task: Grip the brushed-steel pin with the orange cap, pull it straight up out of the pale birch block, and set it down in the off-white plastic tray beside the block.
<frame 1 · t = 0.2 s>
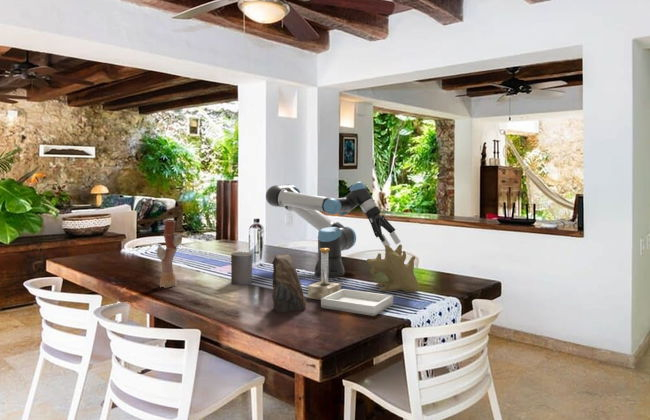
hand: (393, 245, 240), 15 cm above the table, tool tilted 35°, fingers open, 13 cm apart
abstract sculpture: (170, 286, 218), on the table
pin block: (324, 296, 200), on the table
decorative coral: (393, 288, 215), on the table
pillar candle: (241, 283, 225), on the table
brown rock: (288, 308, 182), on the table
steel pin: (324, 272, 199), in the pin block
tray: (357, 305, 186), on the table
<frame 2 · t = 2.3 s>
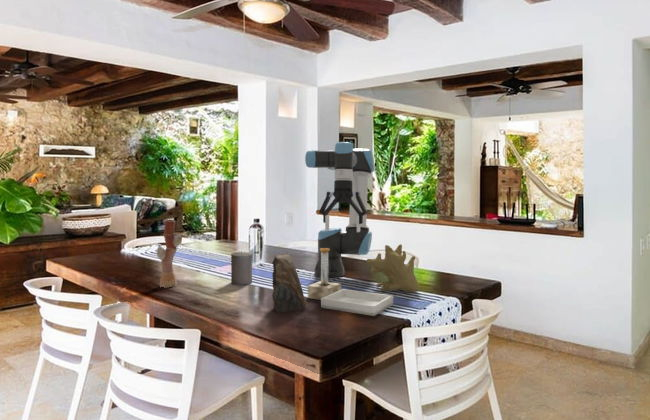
hand: (342, 231, 200), 27 cm above the table, tool pointing down, fingers open, 13 cm apart
nothing on the table moved.
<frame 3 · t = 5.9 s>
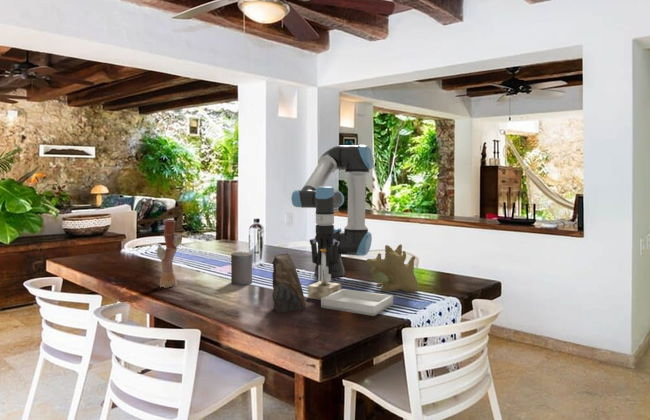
hand: (324, 280, 200), 7 cm above the table, tool pointing down, fingers closed on steel pin, 3 cm apart
steel pin: (324, 272, 199), in the pin block, touching gripper
everything else where it was.
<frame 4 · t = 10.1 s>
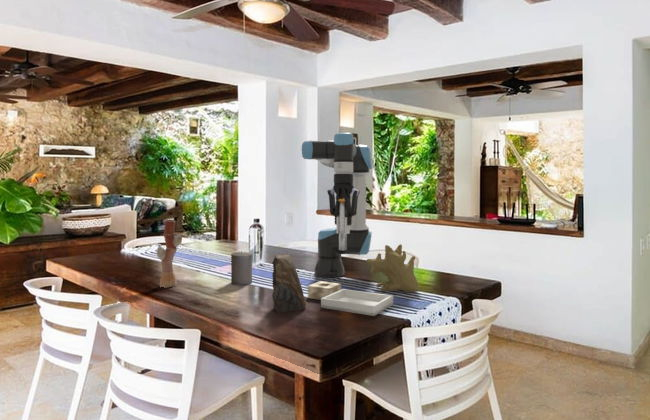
hand: (343, 233, 189), 27 cm above the table, tool pointing down, fingers closed on steel pin, 3 cm apart
steel pin: (342, 224, 189), point 31 cm above the table, touching gripper
everything else where it was.
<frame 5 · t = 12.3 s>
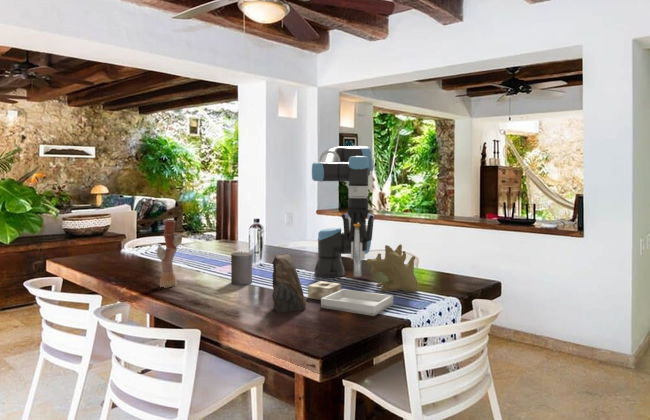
hand: (357, 258, 184), 18 cm above the table, tool pointing down, fingers closed on steel pin, 3 cm apart
steel pin: (357, 249, 184), point 22 cm above the table, touching gripper
everything else where it was.
when the fingers open (10 cm above the table, at t = 14.5 s): steel pin drops 2 cm, resting on tray.
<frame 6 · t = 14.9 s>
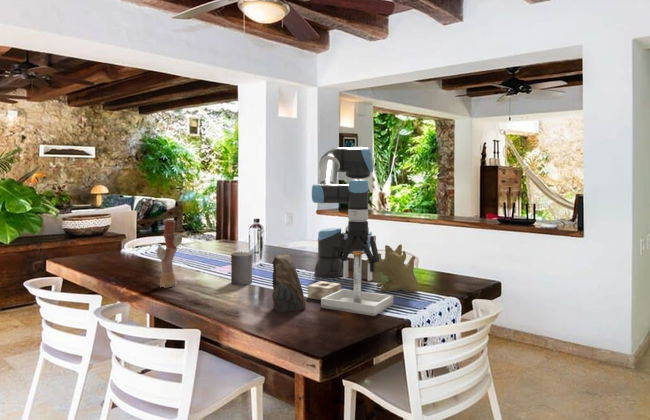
hand: (357, 278, 185), 11 cm above the table, tool pointing down, fingers open, 9 cm apart
steel pin: (357, 277, 185), in the tray, point 11 cm above the table
everything else where it was.
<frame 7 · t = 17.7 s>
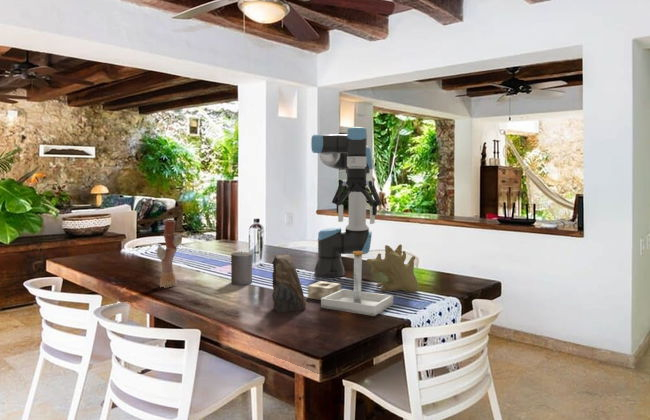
hand: (356, 222, 189), 32 cm above the table, tool pointing down, fingers open, 13 cm apart
nothing on the table moved.
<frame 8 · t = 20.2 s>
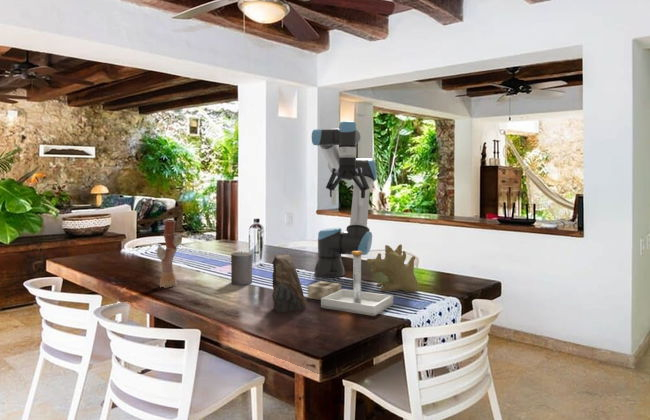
hand: (347, 205, 215), 37 cm above the table, tool pointing down, fingers open, 13 cm apart
nothing on the table moved.
at the end: steel pin inside the target area on the tray (0.1 cm from its centre), point 11.0 cm above the tray's base; the gripper is holding nothing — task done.
